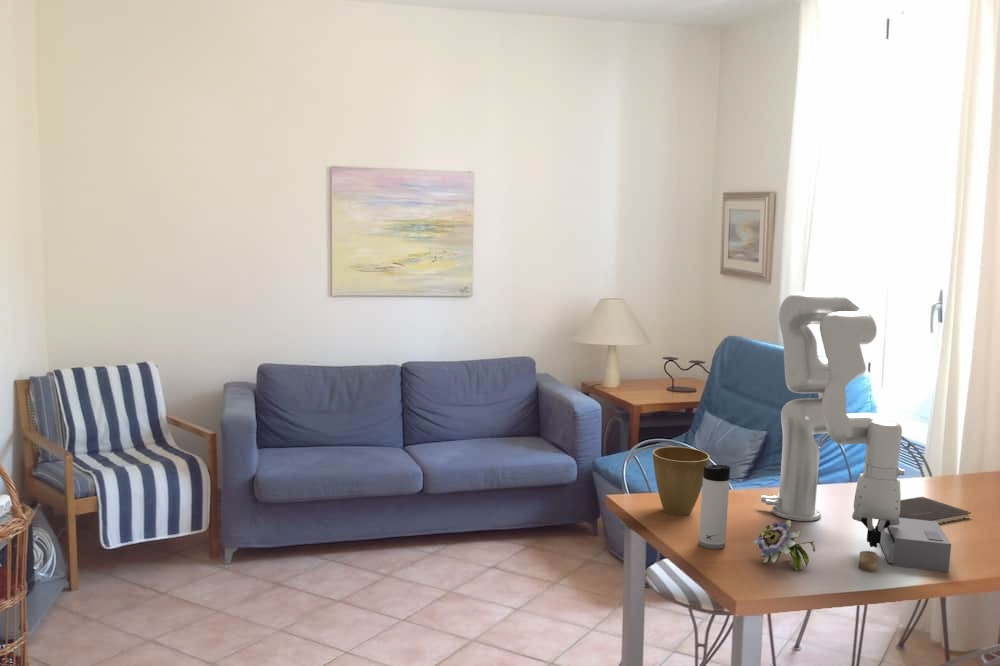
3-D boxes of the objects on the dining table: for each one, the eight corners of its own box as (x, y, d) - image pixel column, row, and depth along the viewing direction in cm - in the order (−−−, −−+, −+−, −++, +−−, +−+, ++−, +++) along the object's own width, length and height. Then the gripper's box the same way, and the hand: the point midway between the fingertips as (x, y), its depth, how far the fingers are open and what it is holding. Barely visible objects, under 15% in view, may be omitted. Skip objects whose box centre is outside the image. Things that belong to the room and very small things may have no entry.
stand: (859, 570, 219) (860, 556, 219) (857, 564, 223) (858, 550, 223) (877, 573, 218) (879, 558, 218) (875, 566, 222) (877, 552, 222)
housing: (892, 565, 224) (895, 537, 223) (882, 541, 240) (885, 515, 239) (948, 571, 221) (951, 543, 220) (934, 547, 237) (937, 520, 236)
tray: (888, 562, 224) (890, 543, 223) (878, 538, 240) (880, 521, 240) (944, 568, 221) (946, 549, 220) (931, 544, 237) (933, 526, 237)
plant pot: (640, 504, 264) (643, 447, 262) (689, 501, 268) (693, 445, 266) (664, 521, 249) (667, 461, 247) (715, 518, 254) (719, 459, 252)
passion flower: (765, 585, 223) (741, 537, 227) (798, 569, 228) (773, 522, 232) (795, 574, 214) (769, 523, 217) (828, 557, 219) (802, 509, 223)
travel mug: (711, 551, 229) (716, 469, 226) (693, 542, 235) (698, 462, 232) (731, 547, 232) (737, 466, 229) (713, 539, 237) (718, 460, 235)
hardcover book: (970, 520, 262) (970, 512, 262) (913, 531, 251) (914, 522, 251) (919, 503, 276) (920, 495, 276) (863, 513, 265) (864, 505, 265)
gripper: (912, 471, 232) (904, 544, 234) (846, 464, 236) (839, 536, 238) (916, 479, 224) (908, 555, 227) (848, 472, 228) (841, 546, 231)
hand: (873, 545), depth 233 cm, fingers closed
